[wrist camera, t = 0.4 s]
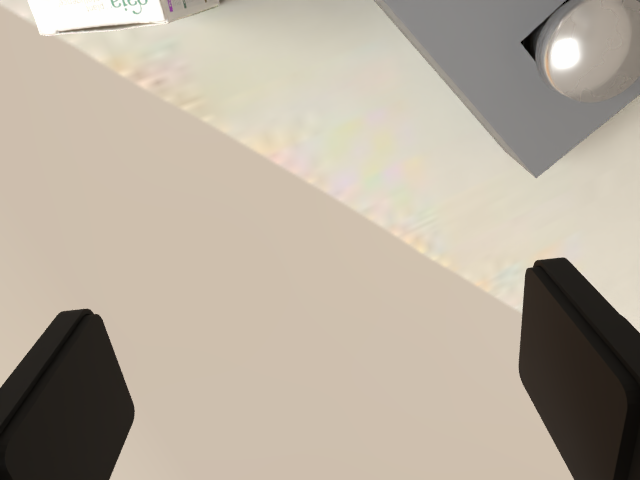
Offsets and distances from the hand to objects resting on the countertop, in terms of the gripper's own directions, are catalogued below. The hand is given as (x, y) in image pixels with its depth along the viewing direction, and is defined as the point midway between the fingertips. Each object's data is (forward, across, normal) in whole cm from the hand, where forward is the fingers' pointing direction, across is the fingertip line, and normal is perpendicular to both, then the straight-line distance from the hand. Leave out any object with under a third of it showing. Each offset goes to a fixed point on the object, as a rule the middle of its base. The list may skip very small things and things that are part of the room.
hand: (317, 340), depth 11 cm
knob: (+25, -15, -2) cm, 30 cm away
